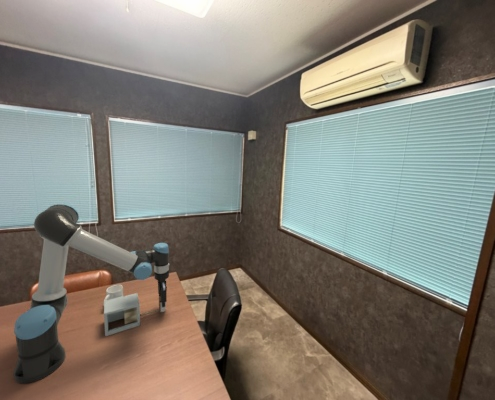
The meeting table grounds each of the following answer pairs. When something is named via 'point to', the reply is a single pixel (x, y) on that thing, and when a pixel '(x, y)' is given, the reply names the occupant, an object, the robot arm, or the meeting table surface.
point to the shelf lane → (120, 312)
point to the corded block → (131, 313)
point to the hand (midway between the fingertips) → (162, 308)
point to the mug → (114, 292)
